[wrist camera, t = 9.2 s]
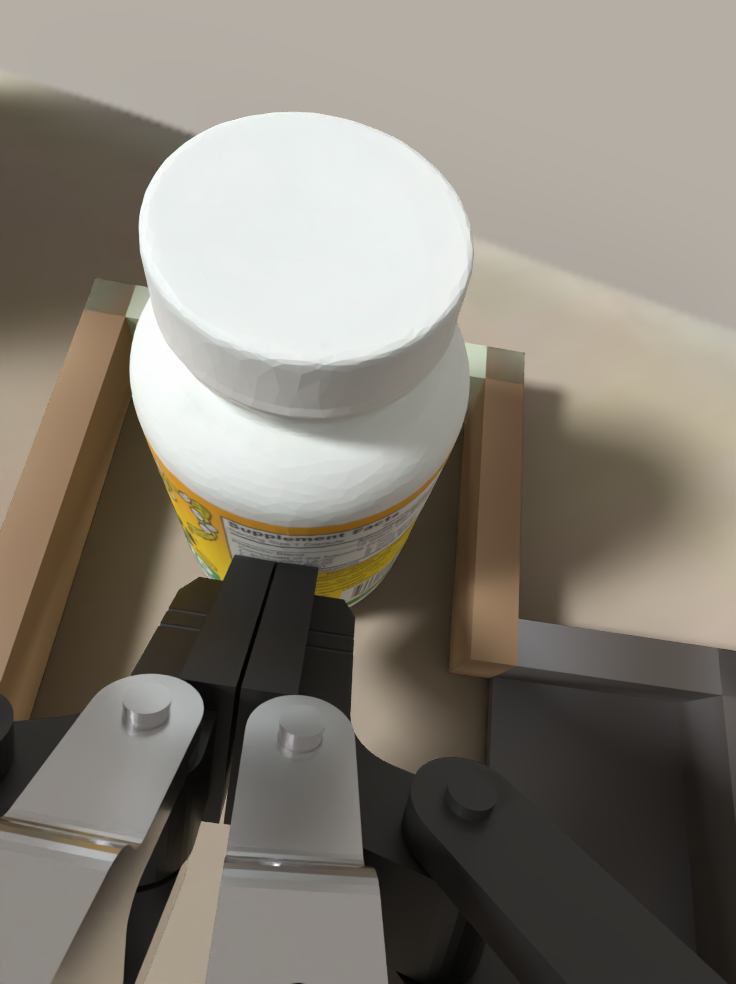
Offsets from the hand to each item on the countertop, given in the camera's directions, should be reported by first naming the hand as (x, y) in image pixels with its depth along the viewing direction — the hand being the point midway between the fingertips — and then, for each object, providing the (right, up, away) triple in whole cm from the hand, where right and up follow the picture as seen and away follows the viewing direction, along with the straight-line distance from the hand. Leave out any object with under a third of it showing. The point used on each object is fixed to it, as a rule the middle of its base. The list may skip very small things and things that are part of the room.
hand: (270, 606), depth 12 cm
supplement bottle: (0, +1, +5) cm, 5 cm away
